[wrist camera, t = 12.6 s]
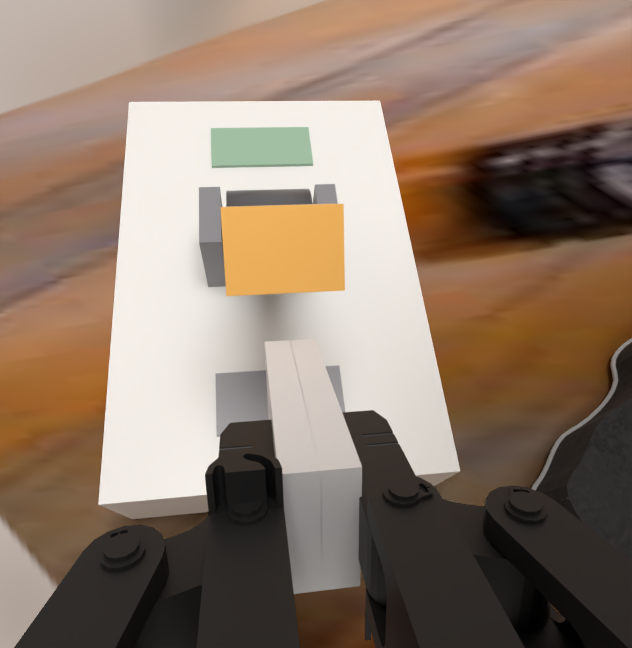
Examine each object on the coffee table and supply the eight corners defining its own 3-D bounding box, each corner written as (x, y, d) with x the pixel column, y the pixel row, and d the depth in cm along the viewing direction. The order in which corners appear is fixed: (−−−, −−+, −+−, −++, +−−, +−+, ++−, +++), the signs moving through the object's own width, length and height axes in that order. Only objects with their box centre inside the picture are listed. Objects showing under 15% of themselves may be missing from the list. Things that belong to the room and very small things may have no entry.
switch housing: (364, 165, 40) (392, 44, 31) (425, 491, 29) (494, 452, 20) (149, 169, 38) (111, 42, 29) (131, 519, 27) (65, 490, 18)
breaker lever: (304, 189, 28) (349, 179, 15) (306, 264, 28) (351, 312, 16) (228, 191, 27) (211, 182, 15) (233, 267, 28) (221, 319, 16)
